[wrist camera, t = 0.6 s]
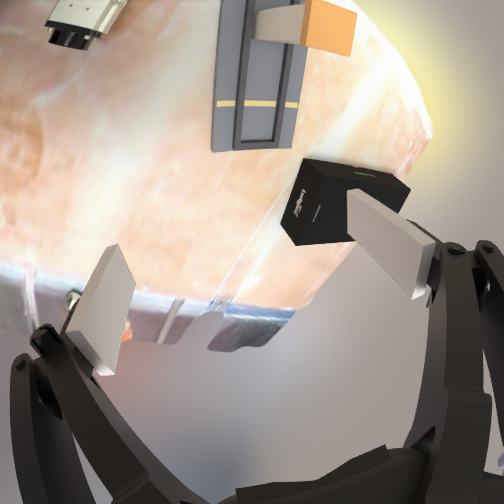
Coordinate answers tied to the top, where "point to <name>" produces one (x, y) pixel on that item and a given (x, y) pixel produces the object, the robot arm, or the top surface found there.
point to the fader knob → (308, 26)
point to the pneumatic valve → (82, 21)
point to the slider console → (254, 82)
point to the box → (334, 200)
